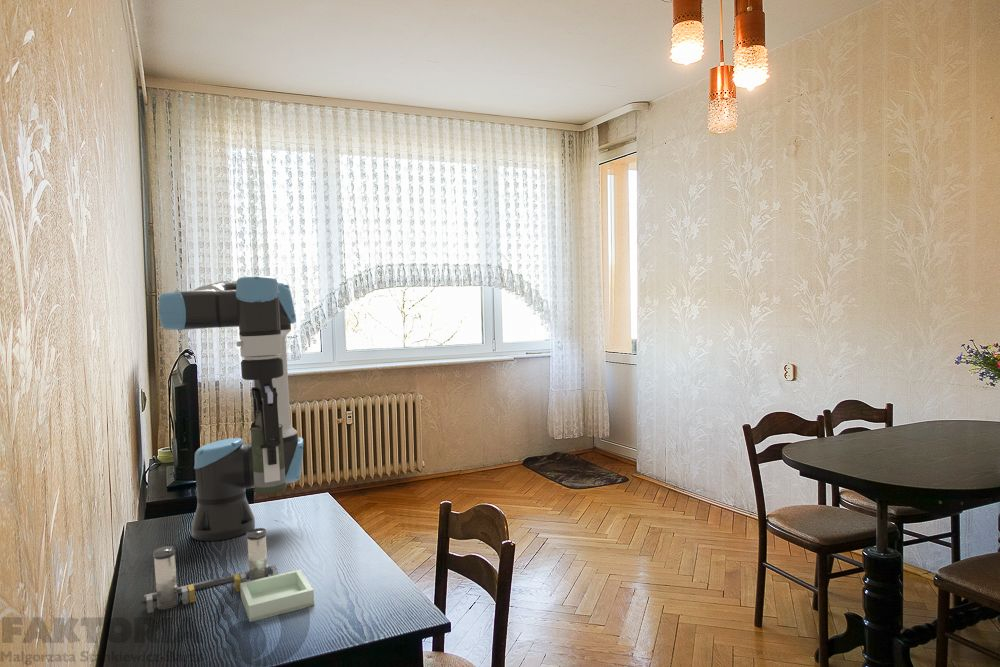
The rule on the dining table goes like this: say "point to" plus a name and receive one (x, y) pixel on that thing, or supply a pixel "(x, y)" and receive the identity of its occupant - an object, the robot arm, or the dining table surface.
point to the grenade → (258, 461)
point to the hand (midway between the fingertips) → (269, 477)
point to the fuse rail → (170, 591)
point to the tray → (276, 595)
